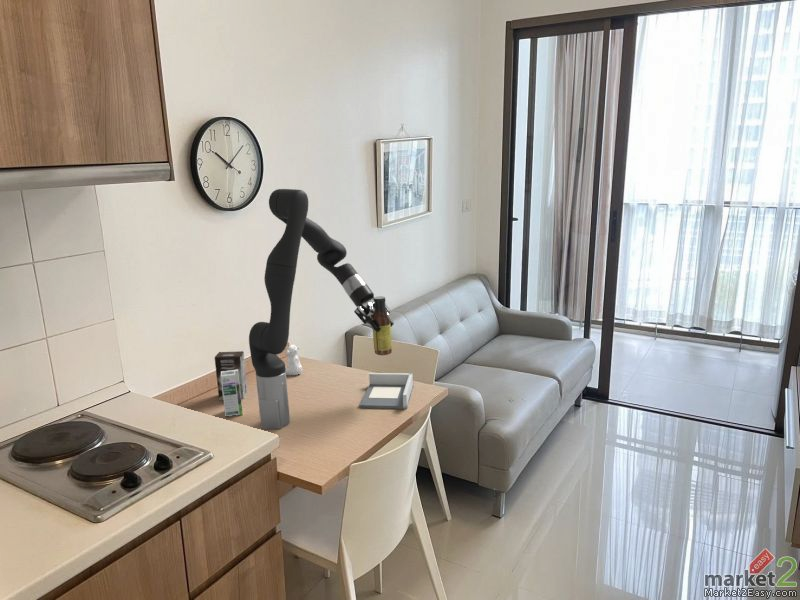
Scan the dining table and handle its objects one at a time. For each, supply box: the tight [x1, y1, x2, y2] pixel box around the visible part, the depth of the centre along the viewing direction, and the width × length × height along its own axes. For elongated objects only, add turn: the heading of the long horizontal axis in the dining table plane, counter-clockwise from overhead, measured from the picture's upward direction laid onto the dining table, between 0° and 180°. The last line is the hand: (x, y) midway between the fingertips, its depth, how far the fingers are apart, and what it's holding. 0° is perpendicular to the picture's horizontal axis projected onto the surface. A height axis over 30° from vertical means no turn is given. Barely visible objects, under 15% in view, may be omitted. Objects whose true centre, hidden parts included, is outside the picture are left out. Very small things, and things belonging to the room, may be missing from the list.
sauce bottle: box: [372, 296, 393, 356], centre depth 204 cm, size 7×6×20 cm
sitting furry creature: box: [285, 344, 303, 376], centre depth 234 cm, size 10×9×12 cm
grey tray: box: [359, 372, 414, 410], centre depth 208 cm, size 20×16×5 cm
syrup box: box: [221, 369, 244, 417], centre depth 198 cm, size 6×6×14 cm
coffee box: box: [214, 350, 248, 401], centre depth 212 cm, size 9×6×16 cm
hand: (385, 328), depth 203 cm, fingers closed on sauce bottle, 6 cm apart
